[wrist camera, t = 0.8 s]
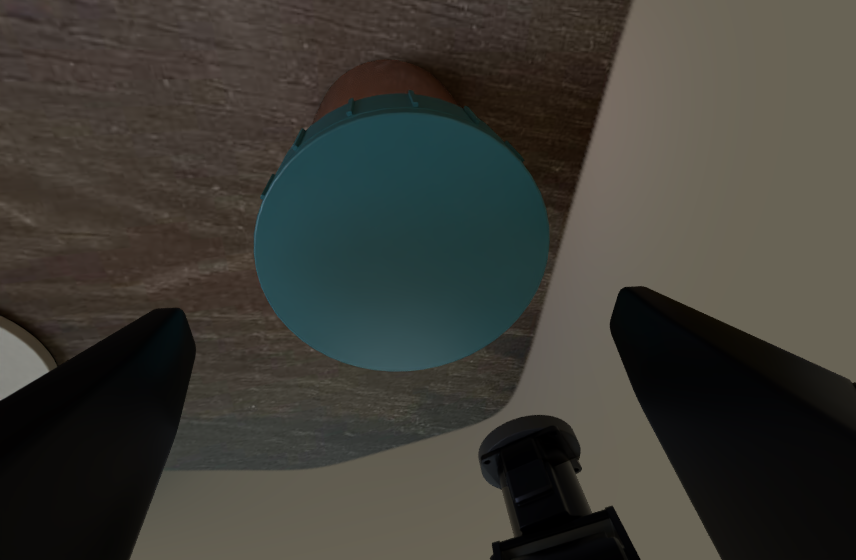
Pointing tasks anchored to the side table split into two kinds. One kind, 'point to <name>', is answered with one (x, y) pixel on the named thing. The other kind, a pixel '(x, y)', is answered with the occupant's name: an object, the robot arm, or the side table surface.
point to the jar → (381, 84)
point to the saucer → (20, 358)
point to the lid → (400, 234)
